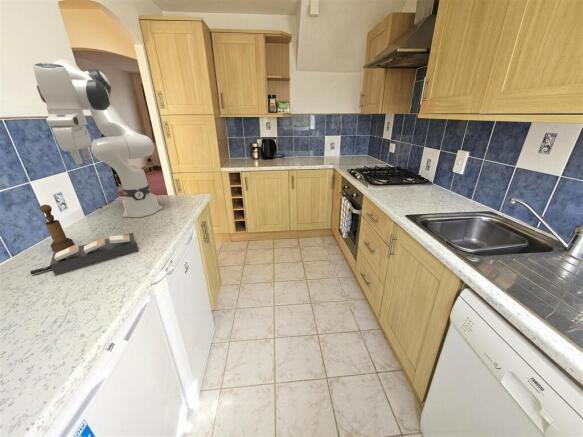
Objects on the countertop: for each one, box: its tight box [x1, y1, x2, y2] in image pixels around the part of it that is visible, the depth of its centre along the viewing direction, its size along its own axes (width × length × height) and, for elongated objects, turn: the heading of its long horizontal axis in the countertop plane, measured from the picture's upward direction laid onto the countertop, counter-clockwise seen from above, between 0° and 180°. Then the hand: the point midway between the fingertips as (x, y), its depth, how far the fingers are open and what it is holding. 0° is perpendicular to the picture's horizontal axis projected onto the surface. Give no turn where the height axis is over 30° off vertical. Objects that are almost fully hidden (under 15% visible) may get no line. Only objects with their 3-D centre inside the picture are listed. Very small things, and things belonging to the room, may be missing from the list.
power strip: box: [29, 232, 139, 276], centre depth 87 cm, size 10×30×5 cm, turn 127°
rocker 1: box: [54, 244, 79, 261], centre depth 81 cm, size 4×6×1 cm, turn 127°
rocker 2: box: [108, 234, 130, 243], centre depth 90 cm, size 4×6×1 cm, turn 127°
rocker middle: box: [84, 237, 106, 253], centre depth 86 cm, size 4×6×1 cm, turn 127°
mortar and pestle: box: [39, 204, 75, 253], centre depth 93 cm, size 7×6×18 cm
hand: (83, 161), depth 86 cm, fingers open, 8 cm apart
